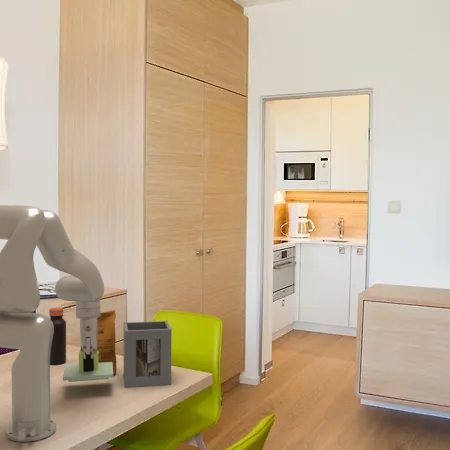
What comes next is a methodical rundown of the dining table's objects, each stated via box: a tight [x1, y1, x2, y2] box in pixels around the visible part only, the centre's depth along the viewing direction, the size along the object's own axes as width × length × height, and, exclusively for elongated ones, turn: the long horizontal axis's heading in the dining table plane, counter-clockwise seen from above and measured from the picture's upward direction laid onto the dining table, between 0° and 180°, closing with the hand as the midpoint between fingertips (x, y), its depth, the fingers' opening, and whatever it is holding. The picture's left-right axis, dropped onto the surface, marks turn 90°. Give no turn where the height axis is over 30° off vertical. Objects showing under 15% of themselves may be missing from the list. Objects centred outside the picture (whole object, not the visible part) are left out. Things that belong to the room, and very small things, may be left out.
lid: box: [62, 351, 114, 383], centre depth 178 cm, size 12×15×8 cm
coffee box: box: [136, 329, 160, 377], centre depth 189 cm, size 9×6×16 cm
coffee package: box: [79, 309, 117, 376], centre depth 195 cm, size 10×12×22 cm
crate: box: [122, 320, 172, 388], centre depth 189 cm, size 12×15×18 cm
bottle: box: [49, 307, 67, 366], centre depth 206 cm, size 7×7×20 cm
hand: (88, 368), depth 178 cm, fingers closed on lid, 3 cm apart
